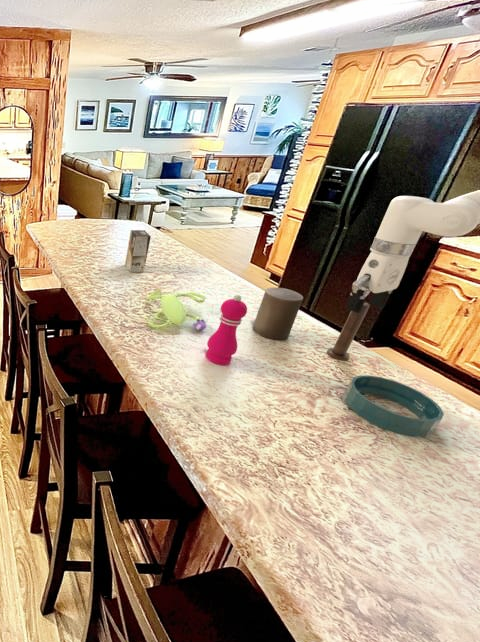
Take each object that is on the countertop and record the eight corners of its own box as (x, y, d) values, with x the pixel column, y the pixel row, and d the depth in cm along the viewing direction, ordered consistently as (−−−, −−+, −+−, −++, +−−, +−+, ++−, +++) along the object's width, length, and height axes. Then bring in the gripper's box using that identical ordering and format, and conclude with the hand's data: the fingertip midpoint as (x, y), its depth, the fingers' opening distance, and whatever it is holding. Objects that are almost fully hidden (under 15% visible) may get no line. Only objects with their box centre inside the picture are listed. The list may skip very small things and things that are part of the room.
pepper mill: (210, 348, 113) (229, 287, 105) (236, 360, 108) (258, 296, 100) (198, 357, 109) (217, 294, 100) (225, 369, 104) (247, 304, 95)
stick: (333, 349, 114) (358, 298, 107) (352, 358, 110) (379, 306, 103) (322, 352, 113) (346, 300, 105) (340, 361, 109) (367, 308, 101)
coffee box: (144, 272, 166) (151, 236, 159) (129, 271, 166) (136, 236, 159) (138, 264, 174) (145, 230, 167) (124, 264, 174) (130, 229, 167)
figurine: (201, 303, 140) (205, 289, 137) (209, 340, 117) (213, 324, 115) (147, 295, 146) (150, 281, 143) (145, 328, 123) (148, 313, 121)
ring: (366, 389, 98) (376, 370, 95) (444, 432, 85) (459, 411, 82) (325, 402, 93) (335, 382, 90) (402, 450, 80) (416, 428, 78)
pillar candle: (286, 344, 116) (304, 299, 110) (249, 333, 122) (265, 290, 115) (288, 331, 123) (306, 288, 117) (253, 321, 129) (268, 280, 122)
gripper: (388, 255, 91) (359, 319, 98) (431, 248, 96) (401, 309, 103) (352, 246, 97) (327, 306, 105) (395, 239, 103) (368, 297, 110)
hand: (364, 307), depth 104 cm, fingers open, 9 cm apart
